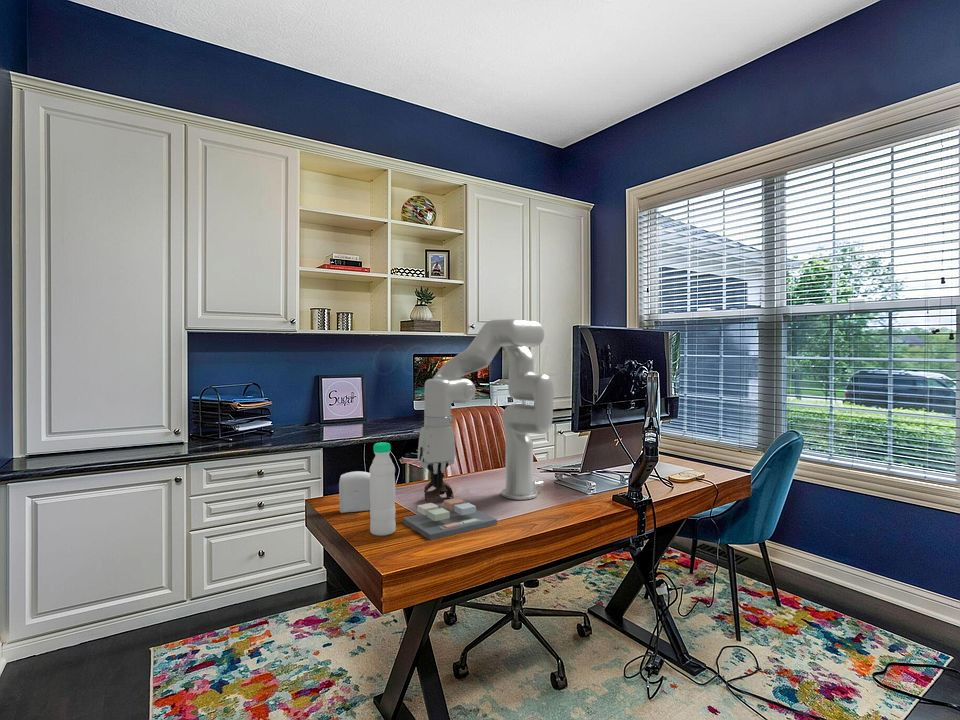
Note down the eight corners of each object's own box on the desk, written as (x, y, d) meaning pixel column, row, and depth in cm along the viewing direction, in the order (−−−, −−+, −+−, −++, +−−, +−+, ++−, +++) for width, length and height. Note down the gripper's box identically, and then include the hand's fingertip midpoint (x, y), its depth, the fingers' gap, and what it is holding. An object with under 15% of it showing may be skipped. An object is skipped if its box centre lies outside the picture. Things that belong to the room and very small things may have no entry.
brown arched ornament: (457, 505, 175) (445, 485, 173) (431, 517, 176) (419, 498, 174) (455, 486, 187) (445, 468, 184) (431, 498, 187) (420, 479, 185)
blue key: (467, 508, 160) (467, 502, 160) (475, 512, 157) (475, 506, 157) (454, 511, 158) (454, 505, 158) (462, 515, 154) (462, 509, 154)
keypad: (465, 509, 169) (465, 503, 169) (497, 524, 155) (497, 517, 155) (402, 522, 157) (402, 516, 157) (430, 540, 143) (430, 532, 143)
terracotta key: (457, 503, 165) (457, 497, 165) (464, 507, 162) (464, 501, 162) (443, 506, 163) (443, 500, 163) (451, 509, 159) (451, 503, 159)
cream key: (431, 508, 160) (431, 502, 160) (438, 512, 157) (438, 506, 157) (417, 511, 158) (417, 505, 158) (424, 515, 154) (424, 509, 154)
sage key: (441, 513, 155) (441, 507, 155) (449, 518, 152) (449, 511, 152) (427, 517, 153) (427, 510, 153) (434, 521, 149) (434, 514, 149)
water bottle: (365, 532, 149) (364, 443, 148) (386, 526, 154) (385, 440, 153) (379, 538, 144) (378, 446, 143) (400, 532, 149) (400, 443, 148)
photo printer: (339, 514, 165) (338, 474, 165) (339, 509, 169) (339, 471, 169) (373, 511, 168) (372, 472, 167) (372, 507, 172) (372, 469, 172)
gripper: (453, 419, 159) (452, 480, 159) (407, 422, 150) (407, 487, 150) (466, 422, 152) (466, 486, 152) (420, 425, 144) (419, 493, 144)
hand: (436, 486), depth 151 cm, fingers closed
